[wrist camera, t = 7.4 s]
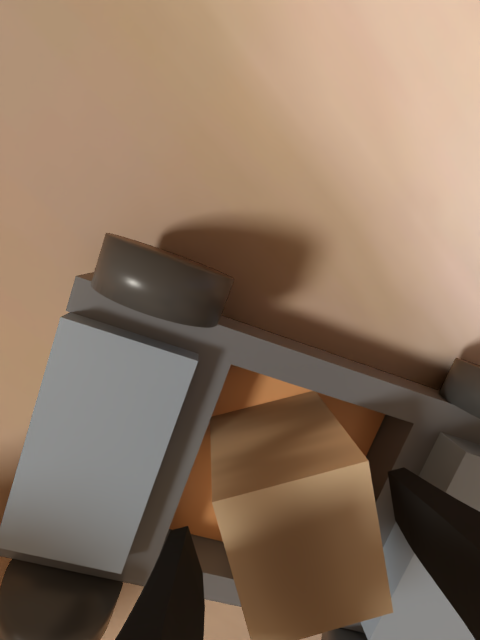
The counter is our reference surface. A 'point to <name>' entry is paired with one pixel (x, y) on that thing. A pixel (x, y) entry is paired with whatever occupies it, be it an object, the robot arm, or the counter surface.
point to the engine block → (297, 519)
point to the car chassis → (198, 447)
